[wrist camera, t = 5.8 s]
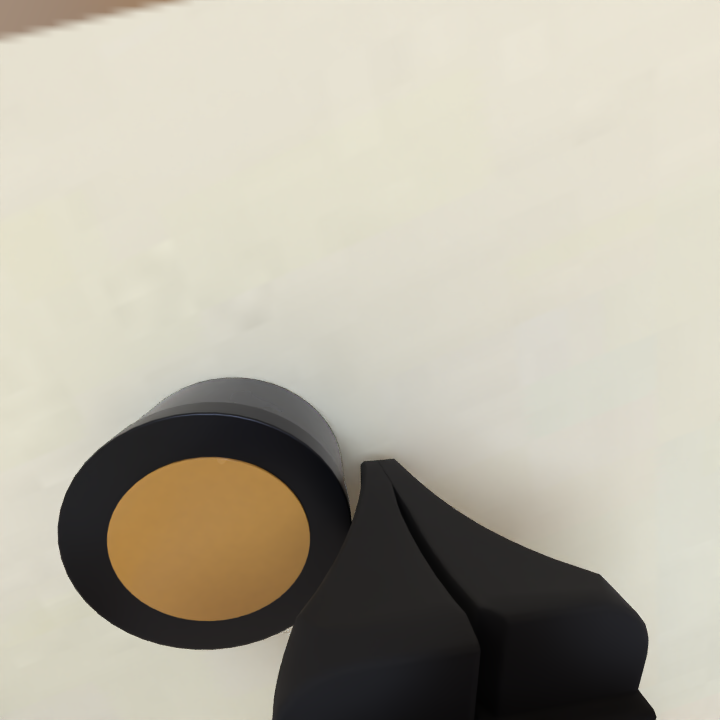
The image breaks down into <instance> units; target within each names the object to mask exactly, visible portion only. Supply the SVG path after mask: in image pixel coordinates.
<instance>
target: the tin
mask: <svg viewBox="0 0 720 720" xmlns="http://www.w3.org/2000/svg"><path fill="white" fill-rule="evenodd" d="M351 523H352V519H351V511H350V504H349V497H348V493H347V489H346V485H345V480H344V473H343V466H342V459H341V454H340V450H339V446H338V443H337V441H336V438H335V436H334V434H333V432H332V430H331V429H330V427H329V425H328V424H327V422H326V421H325V420H324V419H323V417H322V416H321V415H320V414H319V412H317V411H316V410H315V409H314V408H313V407H312V406H311V405H310V404H309V403H308V402H306V401H305V400H303V399H302V398H301V397H299V396H298V395H296V394H294V393H292V392H290V391H288V390H287V389H285V388H282V387H279V386H277V385H274V384H272V383H268V382H264V381H260V380H255V379H247V378H220V379H212V380H207V381H203V382H199V383H196V384H193V385H190V386H188V387H185V388H183V389H181V390H179V391H177V392H175V393H173V394H171V395H170V396H168V397H167V398H165V399H164V400H163V401H161V402H160V403H159V404H157V405H156V406H155V407H154V408H152V409H151V410H150V411H149V412H147V413H146V414H145V415H144V416H142V417H141V418H140V419H139V420H138V421H136V422H135V423H133V424H131V425H130V426H128V427H127V428H125V429H124V430H123V431H121V432H120V433H119V434H117V435H116V436H115V437H113V438H112V439H111V440H110V441H108V442H107V443H106V444H105V445H103V446H102V447H101V448H100V449H98V450H97V451H96V452H95V453H94V454H93V455H92V456H91V457H90V458H89V459H88V460H87V461H86V462H85V463H84V465H83V466H82V467H81V469H80V470H79V471H78V473H77V474H76V475H75V477H74V478H73V480H72V482H71V484H70V486H69V488H68V490H67V492H66V494H65V497H64V500H63V503H62V506H61V509H60V515H59V522H58V545H59V550H60V555H61V560H62V562H63V565H64V567H65V570H66V573H67V575H68V577H69V579H70V580H71V582H72V584H73V585H74V587H75V589H76V590H77V591H78V593H79V594H80V595H81V597H82V598H83V599H84V600H85V602H86V603H87V604H88V605H89V606H91V607H92V608H93V609H94V610H95V611H96V612H97V613H98V614H99V615H100V616H102V617H103V618H105V619H106V620H107V621H109V622H110V623H111V624H113V625H115V626H116V627H118V628H120V629H122V630H124V631H125V632H127V633H129V634H132V635H134V636H136V637H139V638H141V639H144V640H147V641H150V642H153V643H157V644H160V645H165V646H170V647H175V648H183V649H194V650H213V649H224V648H232V647H237V646H242V645H247V644H250V643H254V642H257V641H260V640H264V639H266V638H268V637H271V636H273V635H276V634H278V633H280V632H282V631H284V630H286V629H287V628H289V627H291V626H293V625H294V623H295V620H296V617H297V616H298V614H299V613H300V612H301V610H302V609H303V608H304V606H305V605H306V604H307V602H308V601H309V600H310V598H311V597H312V596H313V594H314V593H315V592H316V590H317V589H318V587H319V586H320V584H321V583H322V581H323V579H324V578H325V576H326V574H327V573H328V571H329V569H330V568H331V566H332V565H333V563H334V561H335V559H336V557H337V555H338V553H339V551H340V549H341V547H342V545H343V543H344V541H345V538H346V536H347V534H348V531H349V529H350V526H351Z"/></svg>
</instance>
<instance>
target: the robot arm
mask: <svg viewBox="0 0 720 720" xmlns="http://www.w3.org/2000/svg"><path fill="white" fill-rule="evenodd" d="M647 650H648V633H647V629H646V625H645V623H644V622H643V620H642V619H641V618H640V616H639V615H638V613H637V612H636V611H635V610H634V609H633V608H632V607H631V606H630V605H629V604H628V603H627V602H626V601H625V600H624V599H623V598H622V597H621V596H620V595H619V594H618V593H617V592H616V590H615V589H614V588H613V587H612V586H611V585H610V584H609V583H608V582H607V581H606V580H605V579H604V578H603V577H602V576H601V575H600V574H597V573H594V572H591V571H588V570H585V569H582V568H579V567H576V566H573V565H570V564H567V563H564V562H561V561H558V560H555V559H553V558H550V557H548V556H545V555H543V554H540V553H538V552H535V551H533V550H530V549H528V548H526V547H523V546H521V545H519V544H517V543H515V542H512V541H510V540H508V539H506V538H504V537H502V536H500V535H498V534H496V533H494V532H492V531H490V530H489V529H487V528H485V527H483V526H481V525H480V524H478V523H476V522H475V521H473V520H471V519H470V518H468V517H466V516H465V515H463V514H461V513H460V512H458V511H457V510H455V509H454V508H452V507H451V506H450V505H448V504H447V503H446V502H444V501H443V500H441V499H440V498H439V497H437V496H436V495H435V494H434V493H432V492H431V491H430V490H429V489H427V488H426V487H425V486H424V485H423V484H421V483H420V482H419V481H418V480H417V479H416V478H415V477H413V476H412V475H411V474H410V473H409V472H408V471H407V470H406V469H405V468H404V467H402V466H401V465H400V464H399V463H398V462H397V461H396V460H395V459H387V460H375V461H364V462H363V463H362V464H361V490H360V496H359V500H358V504H357V508H356V511H355V515H354V518H353V521H352V523H351V526H350V529H349V531H348V534H347V536H346V538H345V541H344V543H343V545H342V547H341V549H340V551H339V553H338V555H337V557H336V559H335V561H334V563H333V565H332V566H331V568H330V569H329V571H328V573H327V574H326V576H325V578H324V579H323V581H322V583H321V584H320V586H319V587H318V589H317V590H316V592H315V593H314V594H313V596H312V597H311V598H310V600H309V601H308V602H307V604H306V605H305V606H304V608H303V609H302V610H301V612H300V613H299V614H298V616H297V617H296V620H295V623H294V625H293V628H292V631H291V634H290V637H289V640H288V643H287V646H286V649H285V652H284V656H283V659H282V663H281V666H280V670H279V675H278V679H277V684H276V689H275V695H274V704H273V718H272V720H656V714H655V712H654V709H653V708H652V707H651V706H650V704H649V703H648V702H647V700H646V699H645V698H644V697H643V695H642V694H641V693H640V691H639V690H638V687H639V684H640V680H641V676H642V672H643V668H644V664H645V660H646V657H647Z"/></svg>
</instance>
